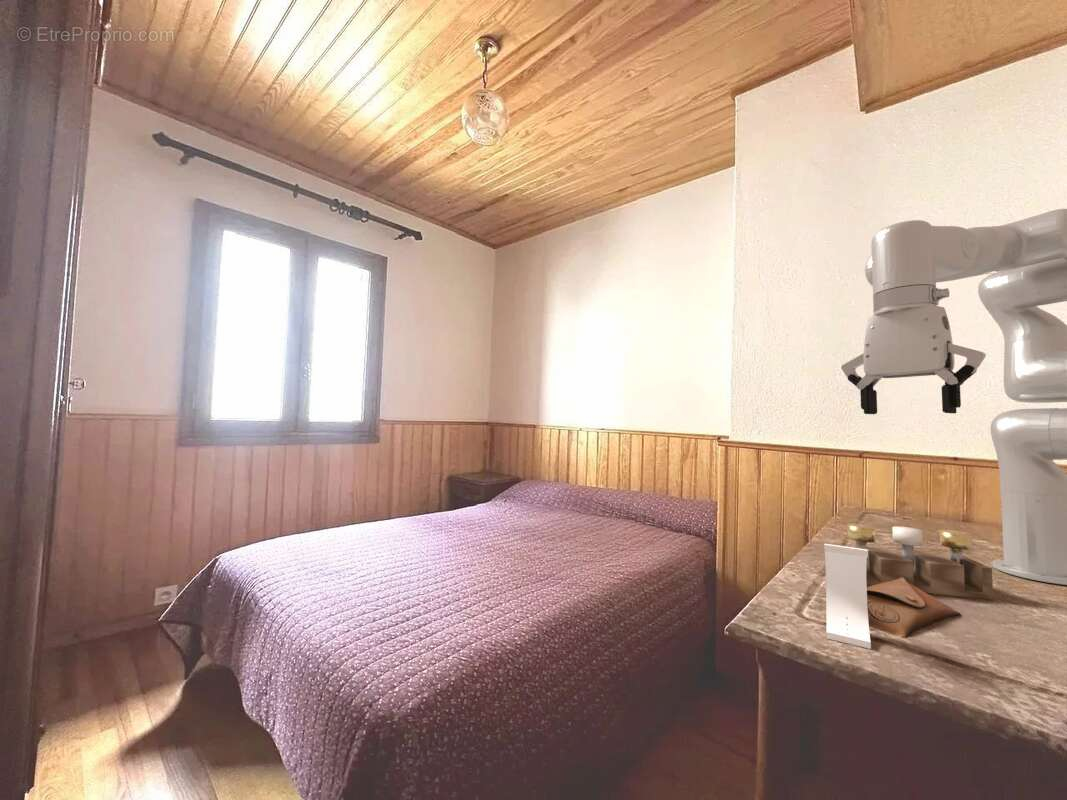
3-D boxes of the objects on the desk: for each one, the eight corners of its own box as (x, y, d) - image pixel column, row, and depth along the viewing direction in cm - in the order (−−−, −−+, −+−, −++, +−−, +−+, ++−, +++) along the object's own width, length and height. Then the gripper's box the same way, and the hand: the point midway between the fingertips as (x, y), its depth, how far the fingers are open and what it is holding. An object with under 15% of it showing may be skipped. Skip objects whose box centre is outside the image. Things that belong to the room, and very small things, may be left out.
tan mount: (959, 582, 78) (958, 554, 78) (993, 599, 70) (991, 568, 70) (837, 571, 83) (837, 544, 83) (856, 586, 75) (855, 556, 75)
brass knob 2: (963, 567, 76) (961, 530, 76) (979, 574, 72) (977, 536, 72) (935, 564, 77) (934, 528, 77) (950, 571, 73) (948, 534, 74)
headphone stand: (826, 638, 56) (823, 544, 57) (826, 621, 61) (824, 535, 62) (871, 649, 54) (868, 550, 54) (867, 630, 59) (865, 540, 59)
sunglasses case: (907, 640, 56) (874, 585, 59) (855, 647, 61) (828, 597, 64) (964, 613, 64) (933, 567, 68) (914, 621, 69) (887, 578, 73)
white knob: (915, 563, 78) (914, 527, 78) (928, 570, 74) (927, 532, 74) (889, 560, 79) (887, 525, 79) (900, 567, 75) (899, 530, 75)
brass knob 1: (869, 559, 80) (868, 524, 80) (880, 565, 76) (879, 529, 76) (844, 557, 81) (843, 522, 81) (854, 563, 77) (853, 527, 77)
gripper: (989, 294, 62) (995, 413, 61) (851, 318, 77) (854, 414, 76) (972, 285, 58) (978, 412, 57) (830, 312, 73) (833, 413, 72)
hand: (907, 413), depth 67 cm, fingers open, 9 cm apart
